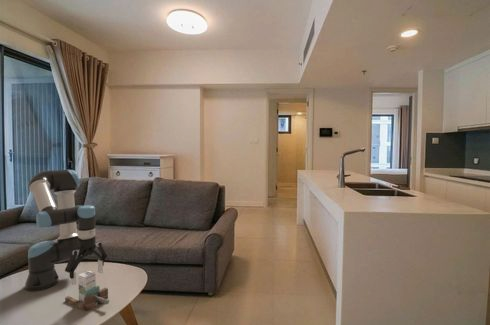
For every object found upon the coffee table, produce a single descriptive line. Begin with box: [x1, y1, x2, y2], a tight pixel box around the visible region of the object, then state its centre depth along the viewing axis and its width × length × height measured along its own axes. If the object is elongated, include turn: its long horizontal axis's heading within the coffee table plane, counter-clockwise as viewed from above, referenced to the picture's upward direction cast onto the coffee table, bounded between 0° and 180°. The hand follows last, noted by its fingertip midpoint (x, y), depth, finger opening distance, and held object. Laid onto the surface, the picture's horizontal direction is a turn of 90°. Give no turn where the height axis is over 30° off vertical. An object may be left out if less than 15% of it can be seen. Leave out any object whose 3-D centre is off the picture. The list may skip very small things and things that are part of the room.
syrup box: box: [77, 270, 97, 303], centre depth 136 cm, size 6×6×14 cm
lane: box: [64, 287, 109, 312], centre depth 137 cm, size 18×11×6 cm, turn 62°
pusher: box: [84, 285, 110, 305], centre depth 132 cm, size 13×7×7 cm, turn 62°
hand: (87, 278), depth 136 cm, fingers open, 13 cm apart
